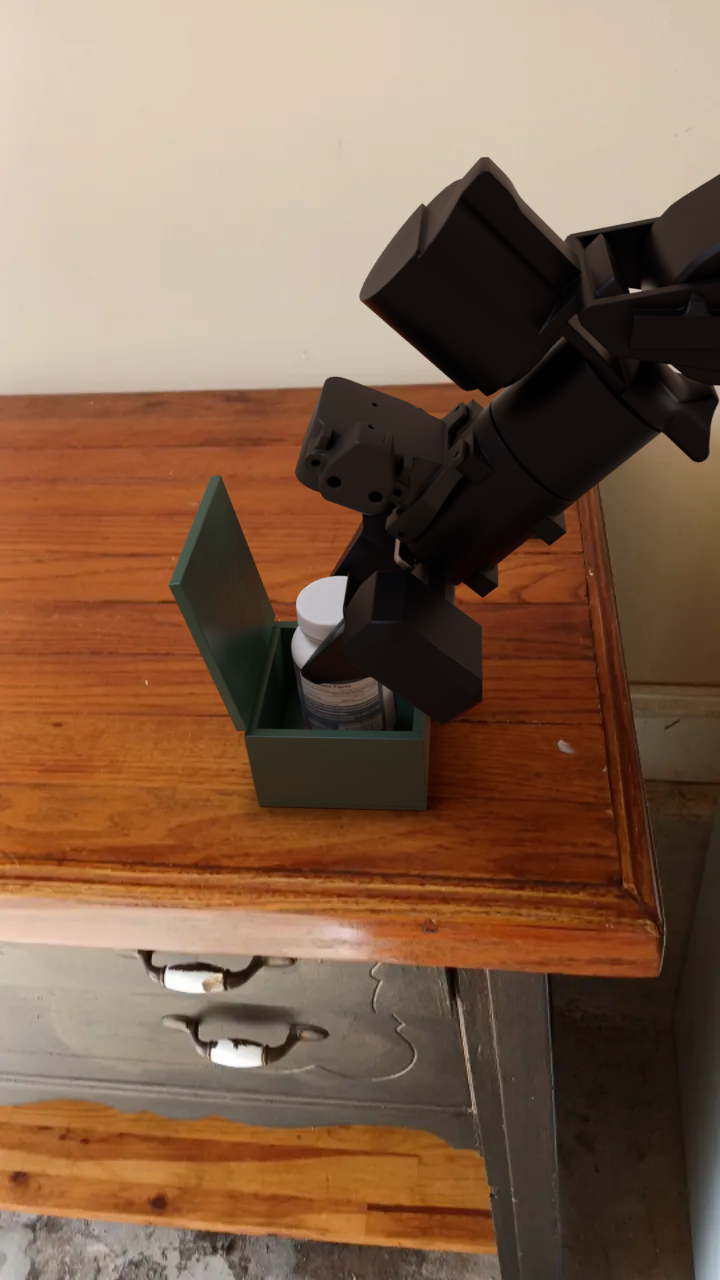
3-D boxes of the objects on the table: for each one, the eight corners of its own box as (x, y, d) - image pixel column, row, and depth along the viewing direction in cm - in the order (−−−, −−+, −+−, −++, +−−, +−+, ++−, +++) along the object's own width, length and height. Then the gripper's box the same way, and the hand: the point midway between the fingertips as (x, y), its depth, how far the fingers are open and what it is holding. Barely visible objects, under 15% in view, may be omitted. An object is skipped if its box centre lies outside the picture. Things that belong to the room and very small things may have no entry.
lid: (220, 474, 49) (210, 476, 49) (179, 583, 42) (167, 585, 43) (275, 615, 55) (266, 616, 55) (247, 731, 48) (236, 732, 49)
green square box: (432, 691, 58) (430, 621, 55) (426, 811, 51) (423, 739, 48) (283, 689, 59) (271, 620, 56) (258, 806, 52) (243, 736, 49)
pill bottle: (330, 679, 57) (313, 558, 51) (411, 701, 55) (403, 577, 49) (288, 741, 53) (264, 618, 47) (373, 766, 51) (359, 642, 45)
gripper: (409, 248, 46) (224, 457, 54) (381, 445, 32) (138, 685, 40) (567, 394, 50) (372, 567, 58) (604, 626, 36) (341, 808, 44)
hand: (314, 641), depth 50 cm, fingers closed on pill bottle, 5 cm apart
